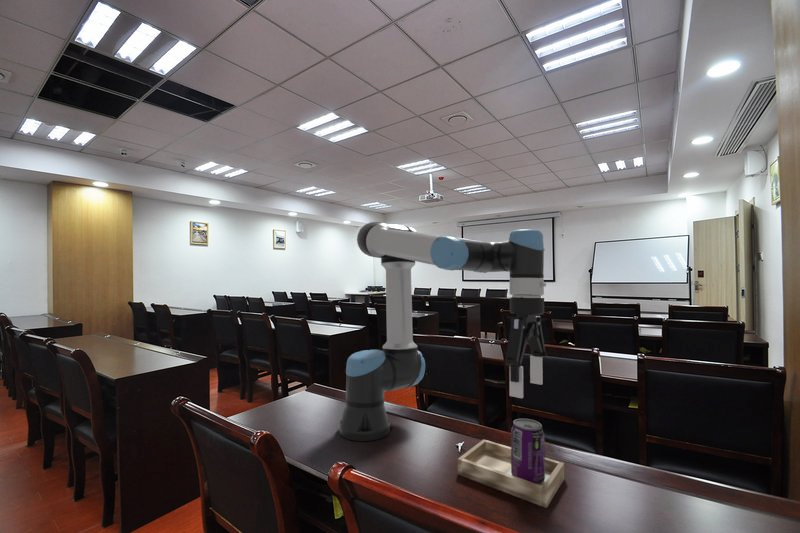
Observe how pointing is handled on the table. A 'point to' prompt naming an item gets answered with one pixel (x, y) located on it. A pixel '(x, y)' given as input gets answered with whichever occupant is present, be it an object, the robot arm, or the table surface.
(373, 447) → the table surface
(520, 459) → the beverage can
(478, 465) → the crate
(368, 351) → the robot arm
